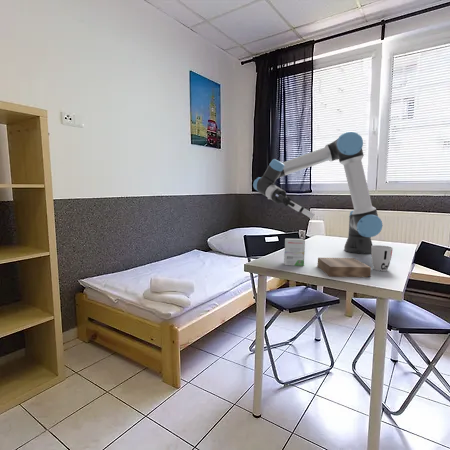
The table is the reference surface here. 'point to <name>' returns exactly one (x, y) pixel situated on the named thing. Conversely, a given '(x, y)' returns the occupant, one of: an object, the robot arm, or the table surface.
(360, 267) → the walnut stand
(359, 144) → the robot arm
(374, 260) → the cup
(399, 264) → the table surface
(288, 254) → the ink box
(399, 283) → the table surface
